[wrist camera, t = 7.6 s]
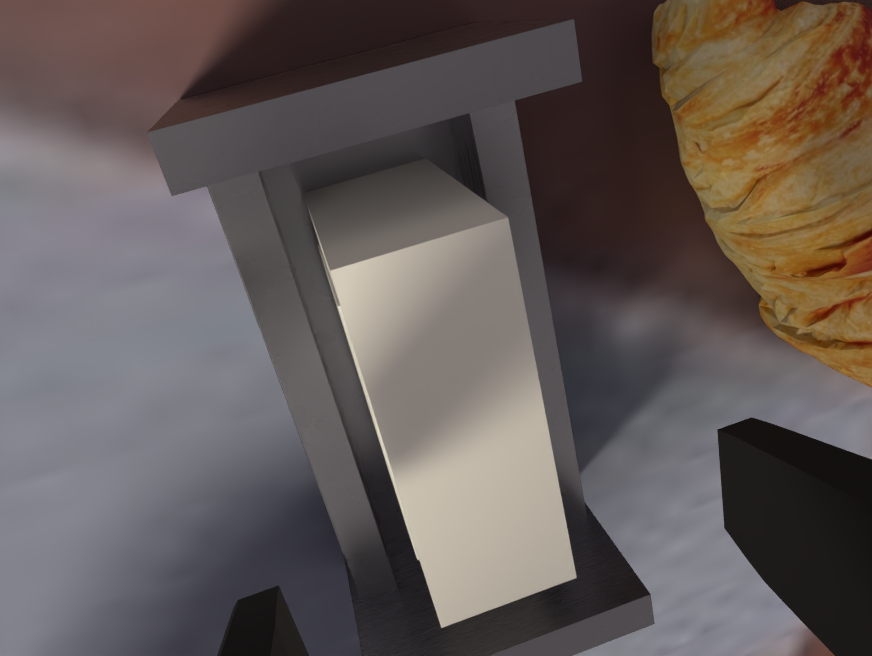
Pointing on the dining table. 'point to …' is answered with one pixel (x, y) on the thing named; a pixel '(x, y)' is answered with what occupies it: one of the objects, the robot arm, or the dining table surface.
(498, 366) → the cream rectangular block
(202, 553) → the dining table surface
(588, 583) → the grey metal bracket
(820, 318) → the croissant
